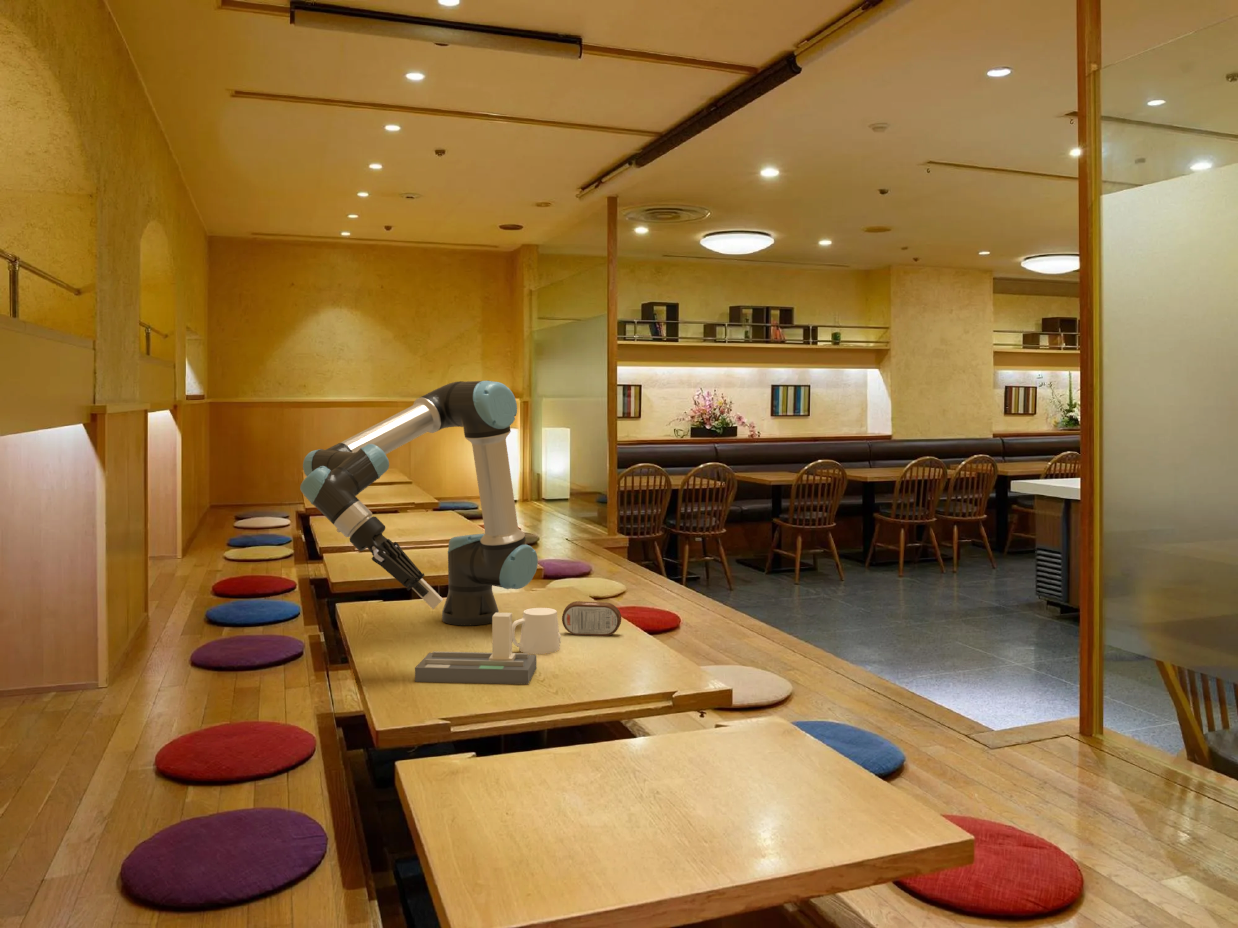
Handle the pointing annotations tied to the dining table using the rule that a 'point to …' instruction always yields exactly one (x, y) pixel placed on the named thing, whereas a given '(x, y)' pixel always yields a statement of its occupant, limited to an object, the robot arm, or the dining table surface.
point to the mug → (538, 631)
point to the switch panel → (475, 668)
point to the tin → (591, 618)
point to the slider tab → (502, 637)
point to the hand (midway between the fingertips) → (438, 604)
